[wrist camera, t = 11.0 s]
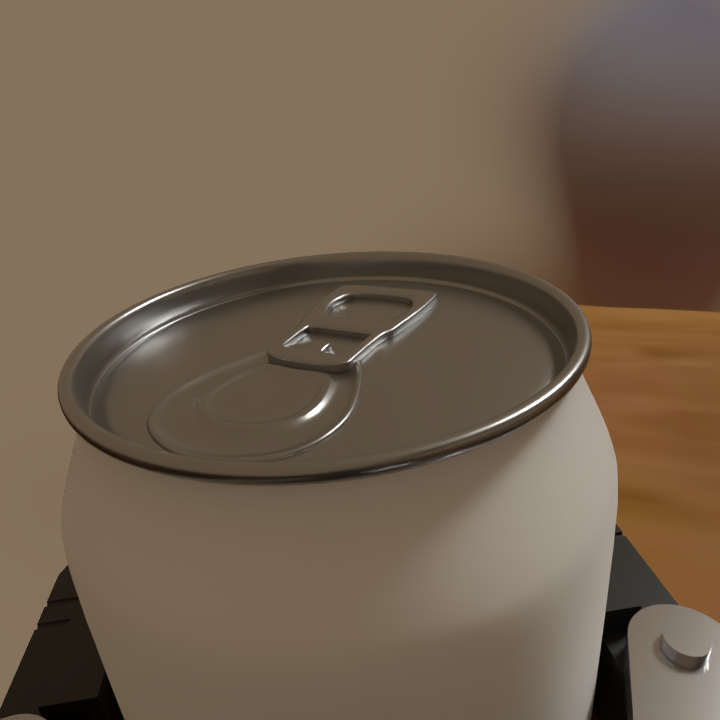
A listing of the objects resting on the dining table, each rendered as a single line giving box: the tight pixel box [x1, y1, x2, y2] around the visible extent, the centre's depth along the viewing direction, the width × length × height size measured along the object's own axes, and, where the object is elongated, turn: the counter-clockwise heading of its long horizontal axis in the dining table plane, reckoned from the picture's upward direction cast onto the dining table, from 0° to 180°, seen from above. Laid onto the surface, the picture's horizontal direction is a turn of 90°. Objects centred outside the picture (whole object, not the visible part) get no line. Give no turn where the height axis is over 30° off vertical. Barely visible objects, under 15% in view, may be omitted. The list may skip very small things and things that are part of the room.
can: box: [58, 251, 618, 720], centre depth 9 cm, size 6×6×12 cm
